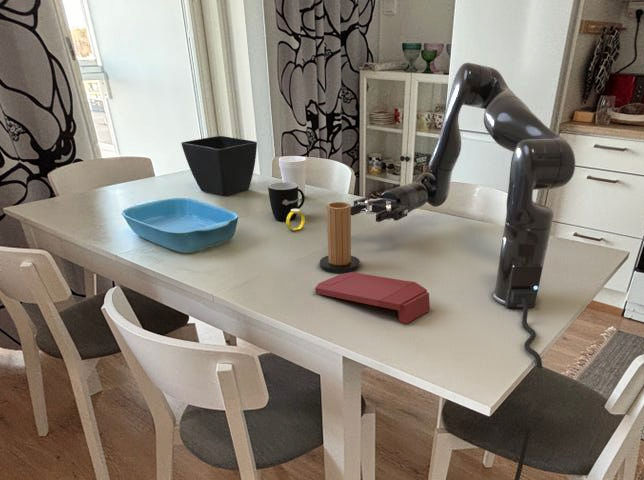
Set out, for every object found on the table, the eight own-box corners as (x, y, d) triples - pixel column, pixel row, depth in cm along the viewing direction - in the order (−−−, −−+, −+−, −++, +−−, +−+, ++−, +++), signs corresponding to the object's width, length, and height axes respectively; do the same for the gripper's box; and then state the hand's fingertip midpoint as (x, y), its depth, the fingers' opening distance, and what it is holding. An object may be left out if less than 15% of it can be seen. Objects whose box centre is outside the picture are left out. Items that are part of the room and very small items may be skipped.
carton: (314, 307, 119) (400, 327, 103) (311, 286, 116) (399, 303, 101) (349, 290, 126) (435, 306, 111) (347, 271, 124) (434, 284, 109)
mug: (281, 224, 158) (278, 190, 152) (265, 217, 163) (262, 185, 158) (313, 217, 164) (311, 184, 159) (296, 211, 170) (295, 179, 165)
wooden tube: (351, 265, 128) (350, 208, 120) (328, 265, 128) (326, 208, 120) (350, 256, 133) (350, 201, 125) (328, 256, 132) (327, 201, 125)
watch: (290, 233, 151) (289, 213, 148) (285, 231, 153) (283, 210, 150) (307, 228, 155) (306, 209, 152) (301, 226, 156) (300, 206, 153)
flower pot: (262, 188, 193) (258, 140, 184) (225, 200, 179) (219, 148, 170) (226, 181, 201) (219, 135, 192) (188, 192, 188) (179, 142, 179)
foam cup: (278, 195, 186) (275, 157, 179) (303, 192, 189) (301, 155, 182) (286, 202, 179) (283, 162, 172) (311, 199, 182) (310, 160, 175)
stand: (360, 273, 127) (360, 224, 120) (319, 273, 126) (317, 224, 120) (359, 258, 135) (359, 211, 129) (320, 258, 135) (318, 211, 128)
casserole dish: (113, 232, 150) (107, 207, 146) (181, 215, 164) (177, 192, 161) (185, 264, 130) (180, 237, 126) (256, 242, 144) (253, 216, 140)
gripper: (379, 183, 144) (341, 194, 133) (422, 191, 137) (386, 204, 126) (378, 210, 148) (342, 223, 137) (420, 219, 141) (385, 235, 130)
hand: (363, 214), depth 131 cm, fingers open, 8 cm apart
